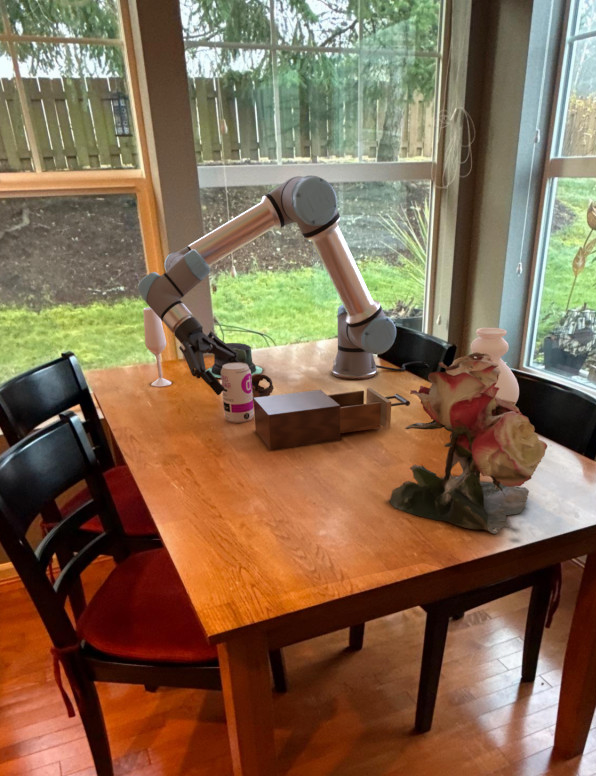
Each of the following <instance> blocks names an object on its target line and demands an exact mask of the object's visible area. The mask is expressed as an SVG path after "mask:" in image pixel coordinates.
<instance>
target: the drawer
mask: <svg viewBox="0 0 596 776" xmlns="http://www.w3.org/2000/svg"><path fill="white" fill-rule="evenodd" d="M327 395H328V396H329V397H330V398H331V399H333V400H334V401H335V402H336V403H338V404H339V405H340V434H346V433H352V432H359V431H366V430H372V429H379V428H380V429H381V427H383V428H384V429H386V430H389V429H391V420H392V407H397V406H406V407H409V406H410V404H411V401H409V400H408V399H407V398H405V397H404V396H402V395H400V394H399V393H395V394H394V395H389V396H384V395H383V394H381V393H379V392H377V391H376V390H375V389H374V388H372V387H366V397H365V391H364V390H356V391H348V392H340V393H332V394H327ZM365 398H366V399H365ZM393 399H395V400H397V401H398V402H392V401H391V400H393ZM365 400H366V401H365Z"/></svg>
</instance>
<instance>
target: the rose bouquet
mask: <svg viewBox="0 0 596 776" xmlns="http://www.w3.org/2000/svg"><path fill="white" fill-rule="evenodd" d="M475 357H477V358H475ZM438 365H439V367H440V368H441V369H442V368H444V369H445V371H444V372H442V371H435V372H430V373H429V374H428V376H427V377H428V378H427V379H428V381H430V383H431V385H430V386H429V387H427V386H424V385H420V386H419V390H418V391H417V390H416V389H413V390H412V389H410V391H409V393H410V394H409V395H415V396H417V398H418V399H419V400H420V404H421V405H422V408H423V411H424V412H425V413H426V414H427V415H428V416H429V418H430V419H431V420H432V421H429V422H415V423H412V424H409V425H407V426H406V427H404V429H405V430H412V429H413V430H425V431H426V430H427V431H429V430H438V429H445V431H447V432H450V435H449V439H450V440H449V441H450V442H447V443H444V448H448V451H447V455H446V459H445V468H444V476H443V477H439V476H437V475H438V474H437V473H436V472H433V471H431V470H429V469H427V468H426V467H425V466H423V465H418V464H413V465H411V466H410V467H409V469H410V470H411V472H412V478H413V479H414V480H415V482H413V481H411V480H406V481H404V482H403V483H402V484H401V485H400V486H399V487H395V488H394V489H392V490H391V495H390V498H389V500H388V503H389V504H390V505H392V507H393V508H395V509H398V510H399V511H403V512H405V513H409V514H411V515H414V516H417V517H423V518H426V519H431V520H434V521H445V522H447V523H450V524H453V525H455V526H458V527H461V528H465V529H469V530H475V531H477V530H485V531H487V532H488V533H491V534H494V535H495V534H498V533H500V530H501V529H502V528H504V527H505V528H508V529H511V530H515V531H516V529H515V528H512V527H510V526H509V523H508V521H507V516H511V515H517V514H521V513H522V512H523V510H524V508H526V505H527V502H528V496H529V493H530V490H529V489H528V488H526V487H524V486H523V485H524V484H525V482H528V481H529V480H531V479H532V476H533V475H534V473H535V472H536V470H537V468H538V466H539V464H540V463H541V462H542V459H543V458H544V457H545V454H546V450H547V449H548V444H547V443H546V442H545V441H542V440H541V439H540V438H539V436H538V435H539V434H538V433H536V432H535V430H536V428H535V426H534V425H533V424H532V423H531V422H530V420H529V417H528V416H526V415H523V413H522V412H521V411H520V409H519V407H518V406H516V404H515V402H512V401H508V400H504V399H500V398H498V397H497V396H496V394H497V391H498V390H499V388H498V387H494V386H495V385H496V383H497V381H498V376H499V374H500V369H499V368H496V367H498V366H499V365H498V364H495V363H493V361H492V360H491V356H489V355H488V354H484V353H483V354H482V353H480V352H475V353H473V352H472V353H470V354H467V355H465V356H460V357H458V358H456V359H454V360H453V361H452V364H450V365H449V366H448V365H446V364H444V361H441V362H438ZM458 463H459V465H460V467H461V469H462V472H461V474H460V475H459V476H453V475H452V473H451V472H452V469H453V468H454V467H455V466H456V465H457V464H458ZM481 476H483V477H487V478H488V477H490V478H491V480H492V482H489V481H481ZM484 480H485V479H484ZM521 486H523V487H521Z"/></svg>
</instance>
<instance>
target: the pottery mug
mask: <svg viewBox="0 0 596 776" xmlns="http://www.w3.org/2000/svg"><path fill="white" fill-rule="evenodd" d="M251 380H252V395H253V398H256V397H265V396H271V394H272V393H273V391H274V389H275V388H274V385H273V381H272V379H271V378H270V377H269V376H268V375H266V374H262V373H260V374H254V375H252V376H251ZM263 380H265V381H266V383H269V384H268V386H267V387H264V386H261V385H259V384H260V382H262V381H263ZM253 402H254V400H253Z"/></svg>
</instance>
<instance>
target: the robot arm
mask: <svg viewBox="0 0 596 776" xmlns="http://www.w3.org/2000/svg"><path fill="white" fill-rule="evenodd" d="M337 197H338V196H337V193H336V191H335V189H334V187H333V186H332V185H331V183H330V182H329V181H328V180H326V179H324V178H322V177H320V176H317V175H306V176H303V175H302V176H301V175H300V176H299V175H297V176H292V177H291V178H288V179H287V180H285V181H284V182H282V183H281V184H280V185H278V186H276V187H275V188H274V189H272V190H271V191H270V192H268V193H266V194H264V195H263V196H262V197H261V201H260V202H259V203H257V204H255V205H254V206H252V207H250V208H249V209H247V210H246V211H244V212H242V213H240V214H239V215H237V216H236V217H234V218H232V219H230V220H229V221H227V222H226V223H224V224H221V226H218V227H216V228H215V229H214V230H212V231H210V232H209V233H207V234H205V235H204V236H202V237H200V238H199V239H197V240H195V241H193V242H192V243H190V244H189V245H187V246H186V247H184V248H182V249H180V250H179V251H174V252H172V253H169V254H168V255H167V256H166V258H165V260H164V270H165V272H164V273H162V274H159V273H158V272H156V271H152V272H150V273H148V274H147V275H145V276H144V277H142V278H141V280H140V281H139V283H138V285H137V292H138V294H139V296H141V298H142V299H143V300H144V302H145V303H146V304H147V306H148V307H150V308H151V309H152V310H153V311H154V312H155V313H156V314H157V316H158V317H159V318H160V319H161V321H162V323H164V325H165V326H166V327H167V328H168V329H169V331H170V332H171V333H172V334H174V337H175V338H176V339H177V340H178V342H179V343H180V345H179V347H178V349H179V350H180V351H181V353H182V355H183V356H184V359H185V361H186V364H187V367H188V368H189V371H190V374H191V376H193V377H196V378H197V380H198V379H200V378H201V379H202V380H203V381H204V383H205V384H206V385H208V386H209V387H210V388H211V390H212V391H213V392H214V393H215V394H216V395H217V396H220V395H221V394H222V391H223V390H224V389H225V388H224V387H223V386H222V383H221V382H220V381H219V379H217V377H214V375H213V374H212V373H211V372H210V371H209V370H208V369H206V363H205V359H204V358H205V357H204V354H213V356H215V355H216V356H218V357H220V358H222V359H224V360H226V361H228V362H230V363H240V362H239V361H238V360H237V358H236V357H237V356H238V352H237V351H236V350H234V349H233V348H231V347H230V346H229V345H227V344H226V342H224V341H223V340H222V339H220V338H219V337H218V336H217V335H216V334H215V333H214V332H213V331H209V332H208V334H205V332H204V330H203V328H204V327H203V325H202V324H201V322H199V320H198V319H197V318H196V317H195V316H194V315H193V313H192V312H191V311H190V310H189V308H188V307H187V306H186V304H184V303H183V302H182V300H181V299H182V298H184V297H185V296H186V295H187V294H188V293H189V292H191V291H192V290H193V289H194V288H195V287H197V285H198V284H200V283H201V282H203V281H204V280H205V278H206V277H207V276H208V275H209V274H210V273H211V268H210V267H211V266H212V265H214V264H216V263H218V262H219V261H220V260H223V259H224V258H226V257H228V256H229V255H231V254H232V253H234V252H236V251H238V250H239V249H242V248H243V247H244V246H246V245H247V244H249V243H251V242H252V241H254V240H256V239H258V238H259V237H261V236H263V235H265V234H266V233H268V232H270V231H271V230H274V229H276V230H280V229H282V228H283V227H285V226H289V225H291V224H295V223H296V225H297V227H298V229H299V231H300V233H301V235H302V237H303V238H304V239H305V240H308V241H310V242H311V243H312V244H313V247H314V249H315V250H316V252H317V255H318V256H319V259H320V261H321V263H322V265H323V267H324V269H325V271H326V273H327V275H328V277H329V279H330V281H331V283H332V285H333V287H334V289H335V292H336V293H337V295H338V298H339V299H340V301H341V302H342V304H341V305H339V306H338V307H337V315H336V319H337V352H336V355H335V359H333V361H332V364H333V365H332V375H333V377H336V378H339V379H345V380H364V379H370V378H373V377H375V376H376V375H377V374H378V373H377V372H378V371H377V369H383V370H387V371H394V372H395V371H396V372H403V371H405V370H406V367H407V366H413V365H423V366H425V367H426V368H430V365H428V364H427V363H426V364H422V362H423V361H418V360H417V361H411V362H410V361H409V362H407V363H403V364H402V365H401V368H395V367H388V366H383V365H377V364H376V359H375V356H374V355H376V356H377V355H382V354H384V353H386V352H388V351H389V350H390V349H391V348H392V346H393V345H394V343H395V340H396V339H397V338H396V337H397V327H396V324H395V322H394V321H393V320H392V319H391V318H390V317H388V316H386V313H385V311H384V309H383V307H382V304H381V302H380V301H379V300H376V299H374V298H373V297H372V295H371V292H370V291H369V289H368V286H367V284H366V282H365V280H364V278H363V275H362V273H361V271H360V269H359V267H358V264H357V263H356V260H355V258H354V256H353V254H352V252H351V250H350V248H349V245H348V243H347V241H346V239H345V237H344V234H343V233H342V230H341V228H340V226H339V224H340V220H341V215H340V213H339V210H338V208H337V207H338V198H337ZM206 370H207V371H206Z"/></svg>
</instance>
